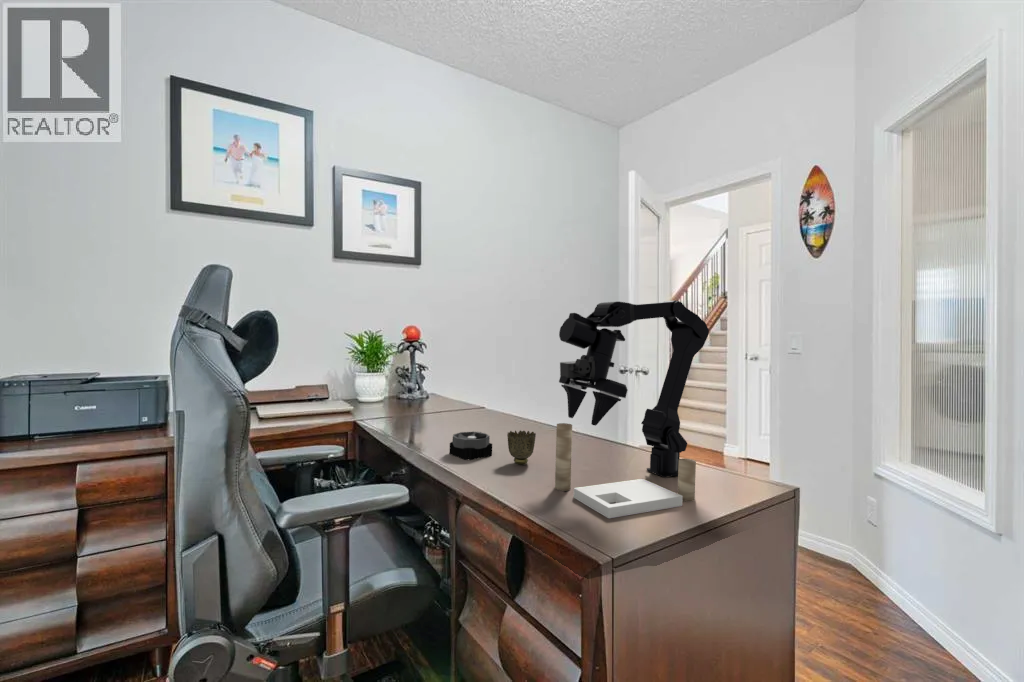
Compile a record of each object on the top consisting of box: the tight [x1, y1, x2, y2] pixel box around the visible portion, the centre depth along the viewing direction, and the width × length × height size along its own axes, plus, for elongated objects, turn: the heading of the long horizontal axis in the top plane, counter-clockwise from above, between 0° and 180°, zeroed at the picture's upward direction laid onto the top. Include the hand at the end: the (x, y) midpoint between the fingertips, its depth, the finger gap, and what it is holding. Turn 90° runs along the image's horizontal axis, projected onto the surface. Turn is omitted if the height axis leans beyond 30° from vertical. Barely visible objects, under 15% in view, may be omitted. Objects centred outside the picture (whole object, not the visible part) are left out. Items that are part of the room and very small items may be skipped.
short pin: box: [677, 458, 697, 502], centre depth 101 cm, size 3×3×8 cm
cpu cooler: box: [448, 430, 493, 461], centre depth 132 cm, size 10×6×10 cm
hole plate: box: [573, 478, 683, 519], centre depth 98 cm, size 18×12×2 cm, turn 115°
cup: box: [507, 429, 537, 466], centre depth 125 cm, size 8×7×8 cm
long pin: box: [554, 422, 573, 492], centre depth 105 cm, size 3×3×14 cm
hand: (581, 421), depth 108 cm, fingers open, 9 cm apart
